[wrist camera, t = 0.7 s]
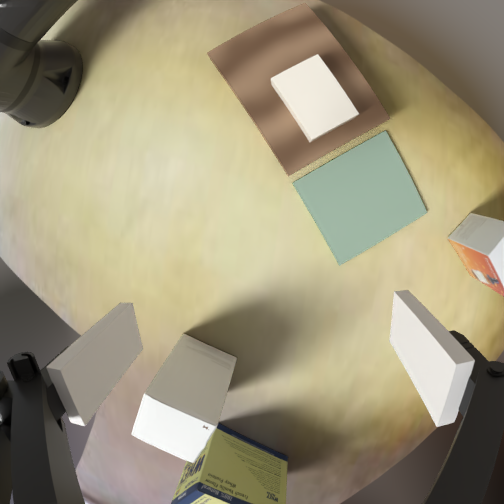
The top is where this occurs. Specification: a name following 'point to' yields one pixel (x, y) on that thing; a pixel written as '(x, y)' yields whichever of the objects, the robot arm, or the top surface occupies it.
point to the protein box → (233, 473)
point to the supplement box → (185, 399)
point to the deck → (280, 59)
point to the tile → (314, 97)
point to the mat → (361, 197)
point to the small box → (481, 249)
